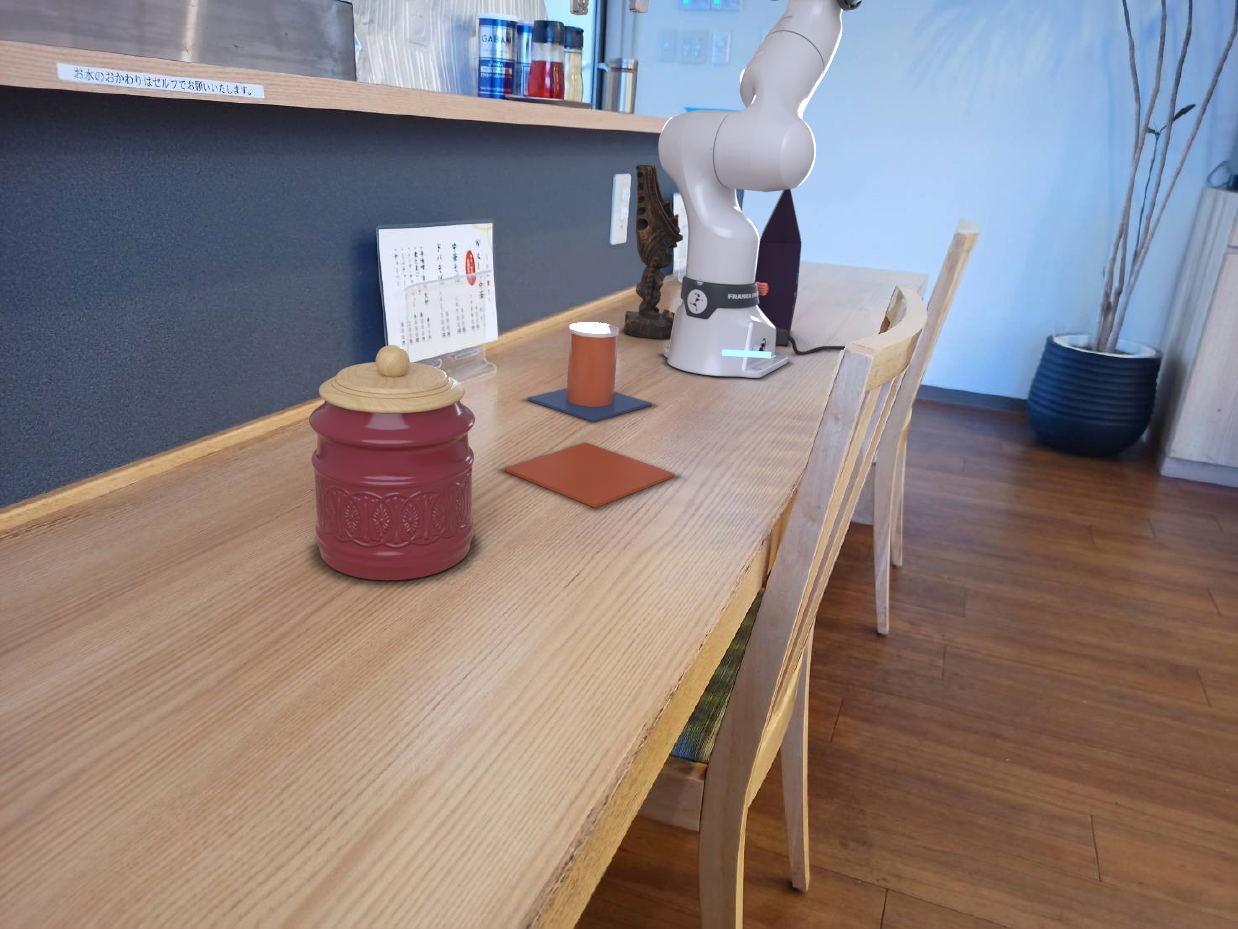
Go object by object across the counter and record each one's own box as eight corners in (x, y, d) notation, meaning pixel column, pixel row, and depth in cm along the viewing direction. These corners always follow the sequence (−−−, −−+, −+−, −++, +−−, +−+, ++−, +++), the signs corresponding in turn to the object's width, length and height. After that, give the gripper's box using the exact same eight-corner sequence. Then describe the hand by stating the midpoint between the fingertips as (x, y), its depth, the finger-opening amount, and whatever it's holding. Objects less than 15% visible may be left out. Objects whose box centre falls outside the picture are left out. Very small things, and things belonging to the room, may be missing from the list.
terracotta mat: (586, 445, 104) (586, 442, 103) (674, 477, 96) (674, 473, 96) (504, 471, 94) (504, 467, 94) (595, 508, 86) (595, 504, 86)
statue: (674, 341, 161) (689, 168, 150) (618, 335, 163) (629, 164, 152) (681, 330, 170) (696, 167, 160) (628, 325, 172) (640, 163, 162)
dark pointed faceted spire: (789, 330, 178) (809, 185, 168) (789, 347, 163) (811, 189, 153) (749, 326, 179) (766, 182, 169) (745, 342, 164) (764, 185, 154)
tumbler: (588, 390, 124) (592, 320, 121) (624, 401, 121) (629, 329, 117) (555, 398, 120) (559, 325, 116) (591, 410, 116) (596, 335, 112)
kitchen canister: (345, 512, 82) (337, 323, 75) (485, 522, 81) (488, 334, 75) (292, 577, 69) (277, 358, 63) (456, 590, 69) (457, 372, 63)
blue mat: (586, 386, 128) (586, 383, 128) (651, 405, 121) (651, 402, 121) (527, 400, 119) (527, 397, 119) (593, 422, 112) (593, 419, 112)
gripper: (705, -125, 97) (693, 15, 102) (570, -106, 109) (564, 19, 114) (671, -141, 92) (660, 6, 97) (533, -119, 104) (529, 11, 109)
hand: (607, 13), depth 106 cm, fingers open, 8 cm apart
